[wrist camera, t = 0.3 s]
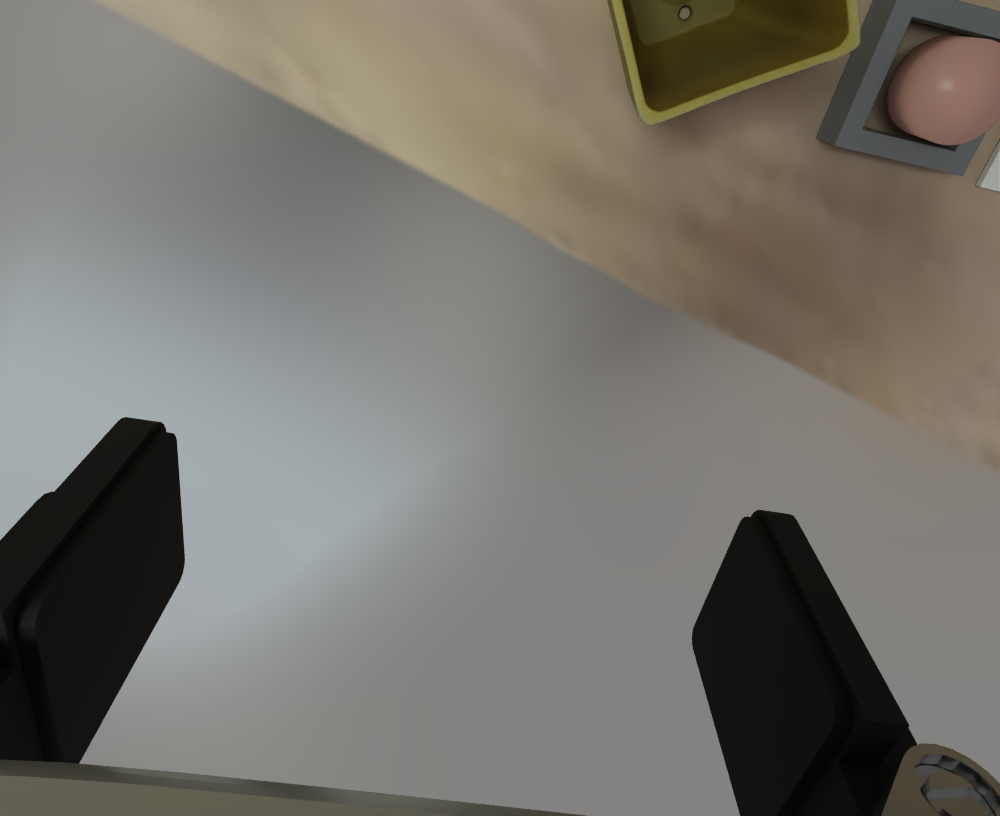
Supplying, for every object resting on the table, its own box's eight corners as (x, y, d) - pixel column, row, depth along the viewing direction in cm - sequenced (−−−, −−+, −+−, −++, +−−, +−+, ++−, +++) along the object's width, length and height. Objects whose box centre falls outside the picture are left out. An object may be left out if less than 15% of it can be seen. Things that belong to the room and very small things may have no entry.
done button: (915, 25, 33) (944, 27, 31) (1001, 47, 33) (1037, 51, 31) (870, 124, 35) (895, 133, 33) (952, 144, 35) (982, 154, 33)
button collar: (878, -14, 34) (902, -14, 32) (1011, 20, 35) (1043, 22, 33) (816, 137, 38) (834, 146, 35) (937, 166, 38) (962, 176, 36)
